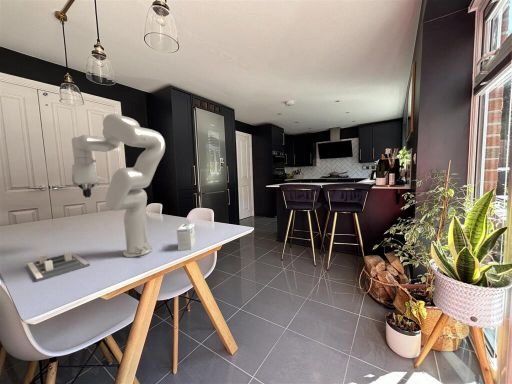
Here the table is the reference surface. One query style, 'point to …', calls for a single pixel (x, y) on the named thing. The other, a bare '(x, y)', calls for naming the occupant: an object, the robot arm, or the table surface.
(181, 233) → the light bulb box
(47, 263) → the tab
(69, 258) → the tab
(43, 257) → the tab
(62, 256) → the switch board
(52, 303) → the table surface
